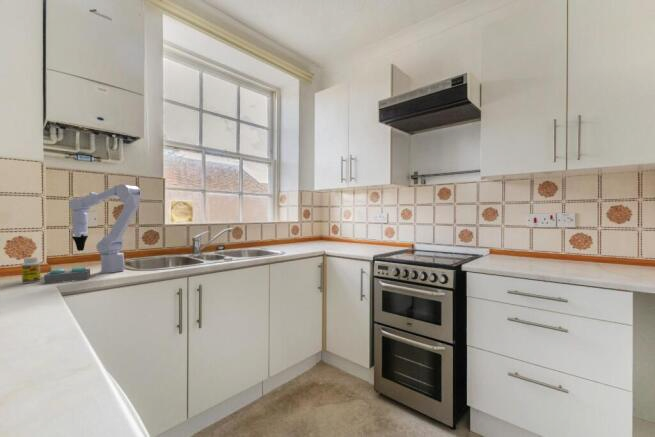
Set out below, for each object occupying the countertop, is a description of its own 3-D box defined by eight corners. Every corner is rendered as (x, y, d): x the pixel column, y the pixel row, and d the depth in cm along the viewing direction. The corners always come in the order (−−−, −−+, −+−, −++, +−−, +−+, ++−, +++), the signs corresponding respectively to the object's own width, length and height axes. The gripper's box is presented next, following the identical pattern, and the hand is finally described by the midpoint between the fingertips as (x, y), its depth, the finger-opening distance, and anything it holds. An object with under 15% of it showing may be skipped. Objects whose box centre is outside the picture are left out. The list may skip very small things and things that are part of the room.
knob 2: (86, 276, 136) (86, 266, 136) (84, 278, 132) (84, 268, 132) (73, 277, 134) (72, 268, 134) (71, 279, 130) (70, 269, 130)
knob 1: (66, 278, 133) (65, 268, 133) (63, 280, 129) (63, 270, 129) (52, 279, 130) (51, 269, 130) (49, 282, 126) (49, 271, 126)
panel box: (90, 276, 138) (90, 268, 138) (87, 279, 132) (87, 271, 132) (49, 280, 131) (49, 272, 131) (44, 283, 124) (44, 275, 124)
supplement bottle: (20, 284, 124) (19, 259, 123) (24, 281, 128) (23, 257, 128) (38, 282, 127) (38, 258, 126) (42, 280, 131) (41, 256, 131)
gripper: (72, 222, 153) (72, 249, 153) (66, 223, 141) (66, 252, 141) (90, 222, 157) (90, 248, 157) (85, 223, 144) (86, 251, 145)
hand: (80, 250), depth 149 cm, fingers closed
